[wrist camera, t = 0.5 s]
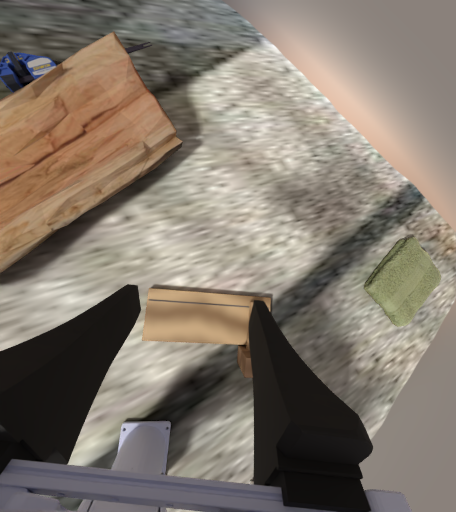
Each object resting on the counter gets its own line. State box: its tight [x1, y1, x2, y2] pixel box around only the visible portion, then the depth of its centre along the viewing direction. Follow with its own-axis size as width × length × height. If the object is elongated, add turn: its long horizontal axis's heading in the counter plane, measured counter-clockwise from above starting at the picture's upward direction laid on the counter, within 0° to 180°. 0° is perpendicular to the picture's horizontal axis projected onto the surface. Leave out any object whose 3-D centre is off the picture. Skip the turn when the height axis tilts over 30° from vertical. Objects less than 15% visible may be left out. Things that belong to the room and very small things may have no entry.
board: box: [142, 288, 271, 345], centre depth 37 cm, size 9×23×1 cm, turn 85°
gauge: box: [237, 302, 254, 378], centre depth 35 cm, size 12×4×7 cm, turn 175°
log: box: [0, 32, 183, 273], centre depth 31 cm, size 42×18×15 cm, turn 131°
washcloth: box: [364, 237, 441, 327], centre depth 44 cm, size 13×18×3 cm
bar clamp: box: [0, 42, 152, 93], centre depth 39 cm, size 32×2×10 cm
